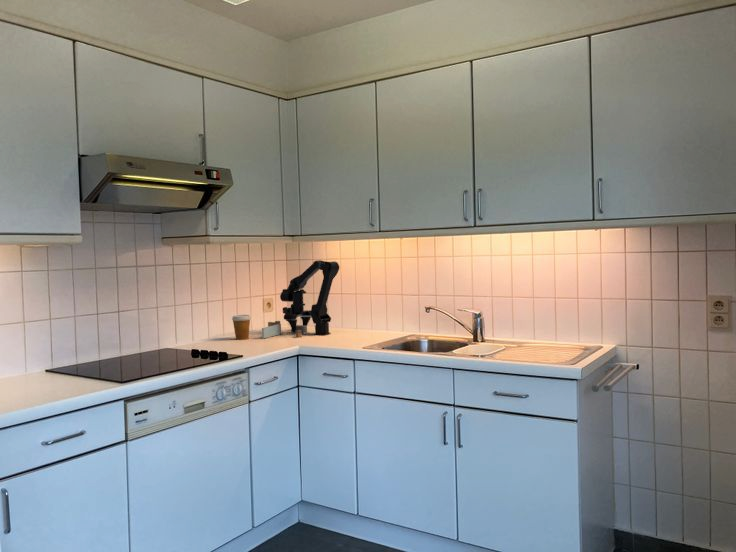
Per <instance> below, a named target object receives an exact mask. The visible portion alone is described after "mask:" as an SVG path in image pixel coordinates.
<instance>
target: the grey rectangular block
mask: <svg viewBox="0 0 736 552" xmlns="http://www.w3.org/2000/svg"><path fill="white" fill-rule="evenodd" d="M307 327H308V325H303V324H301V325H299V324H296V330H301V334H306V333H307V334H308V328H307ZM290 329H291V334H296V330H295V332H293V331H292V328H291V327H290Z"/></svg>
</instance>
